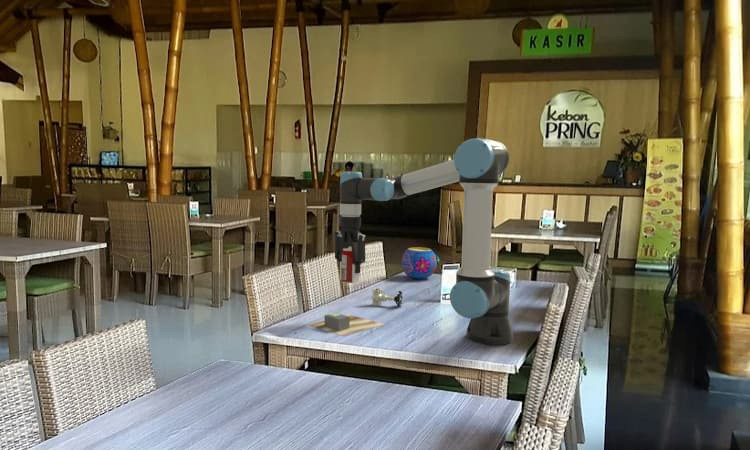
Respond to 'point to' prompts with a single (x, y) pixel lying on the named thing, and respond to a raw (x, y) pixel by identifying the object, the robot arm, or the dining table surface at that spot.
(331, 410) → the dining table surface
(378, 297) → the valve
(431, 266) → the ceramic pot
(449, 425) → the dining table surface
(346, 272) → the soda can
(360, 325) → the panel
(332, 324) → the block
